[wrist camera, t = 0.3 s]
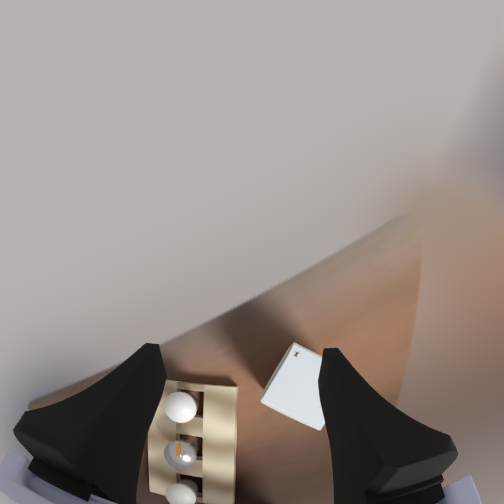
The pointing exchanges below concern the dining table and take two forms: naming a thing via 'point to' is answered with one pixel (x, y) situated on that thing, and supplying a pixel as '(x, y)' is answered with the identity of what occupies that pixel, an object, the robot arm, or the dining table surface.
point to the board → (214, 443)
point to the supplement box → (296, 387)
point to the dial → (181, 453)
